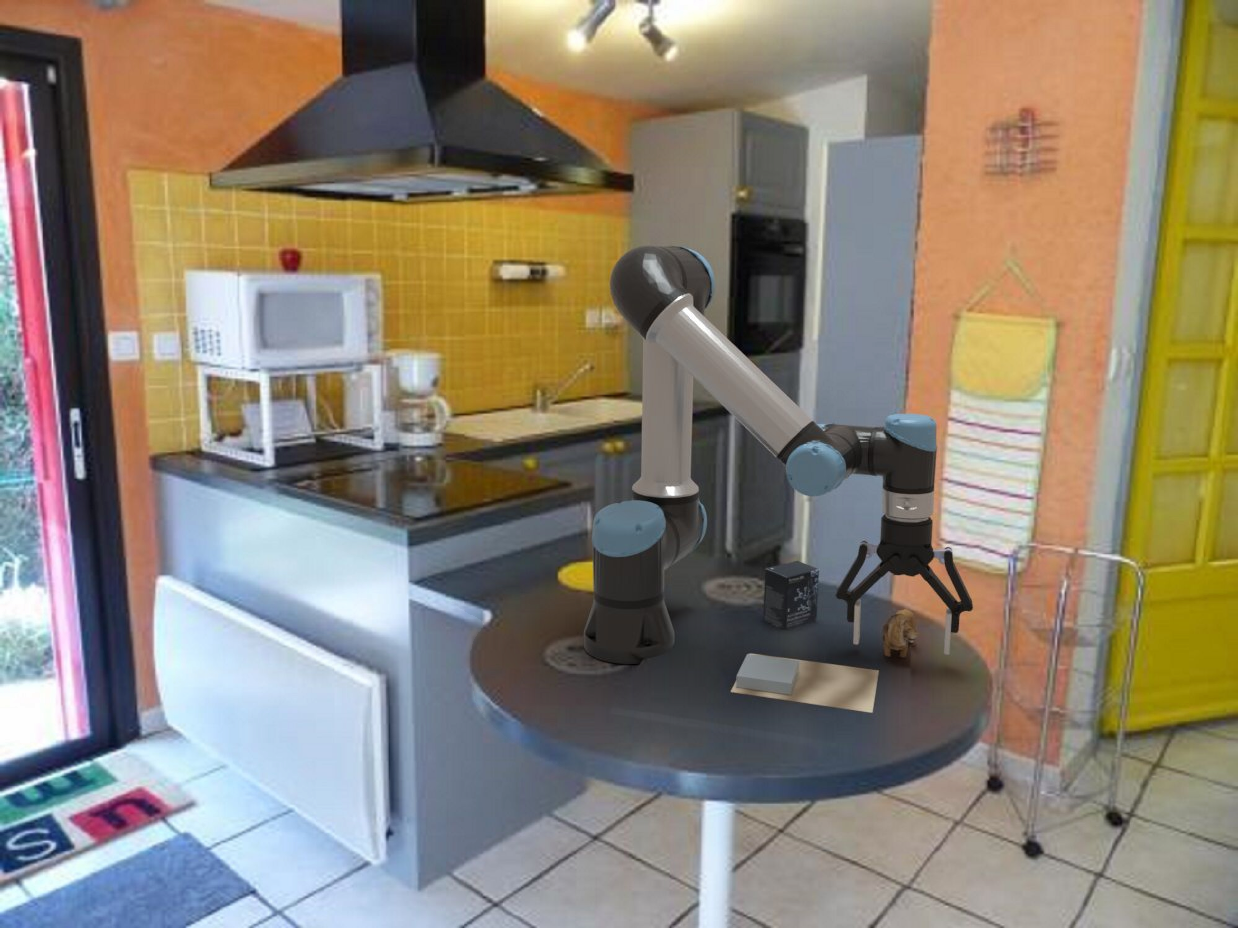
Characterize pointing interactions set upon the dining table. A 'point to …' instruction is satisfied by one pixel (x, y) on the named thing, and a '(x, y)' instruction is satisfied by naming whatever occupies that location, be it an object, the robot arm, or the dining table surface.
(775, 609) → the box
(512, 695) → the dining table surface
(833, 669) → the board
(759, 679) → the block
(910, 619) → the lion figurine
